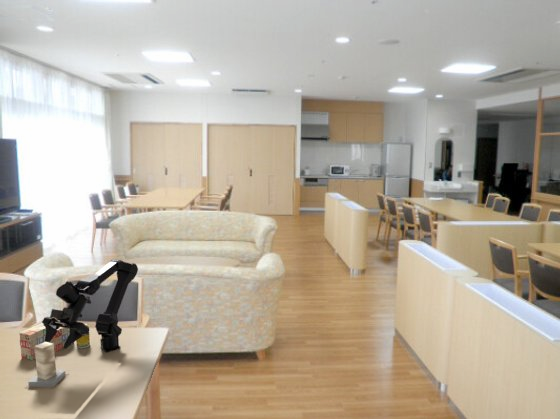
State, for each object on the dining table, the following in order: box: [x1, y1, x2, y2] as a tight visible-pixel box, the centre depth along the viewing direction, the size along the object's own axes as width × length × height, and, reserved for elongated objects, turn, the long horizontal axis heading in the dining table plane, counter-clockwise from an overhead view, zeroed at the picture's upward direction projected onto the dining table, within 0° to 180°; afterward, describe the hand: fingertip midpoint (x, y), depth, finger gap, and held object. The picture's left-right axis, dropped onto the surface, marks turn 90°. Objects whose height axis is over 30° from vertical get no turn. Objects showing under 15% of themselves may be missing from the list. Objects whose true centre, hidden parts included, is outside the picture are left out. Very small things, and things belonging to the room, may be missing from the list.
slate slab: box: [27, 369, 66, 388], centre depth 175 cm, size 9×9×2 cm
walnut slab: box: [24, 373, 70, 390], centre depth 175 cm, size 11×11×2 cm
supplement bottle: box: [75, 323, 91, 349], centre depth 207 cm, size 5×5×10 cm
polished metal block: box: [34, 342, 57, 380], centre depth 173 cm, size 4×4×12 cm
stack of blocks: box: [19, 322, 74, 361], centre depth 202 cm, size 21×6×12 cm, turn 156°
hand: (54, 347), depth 177 cm, fingers open, 9 cm apart
